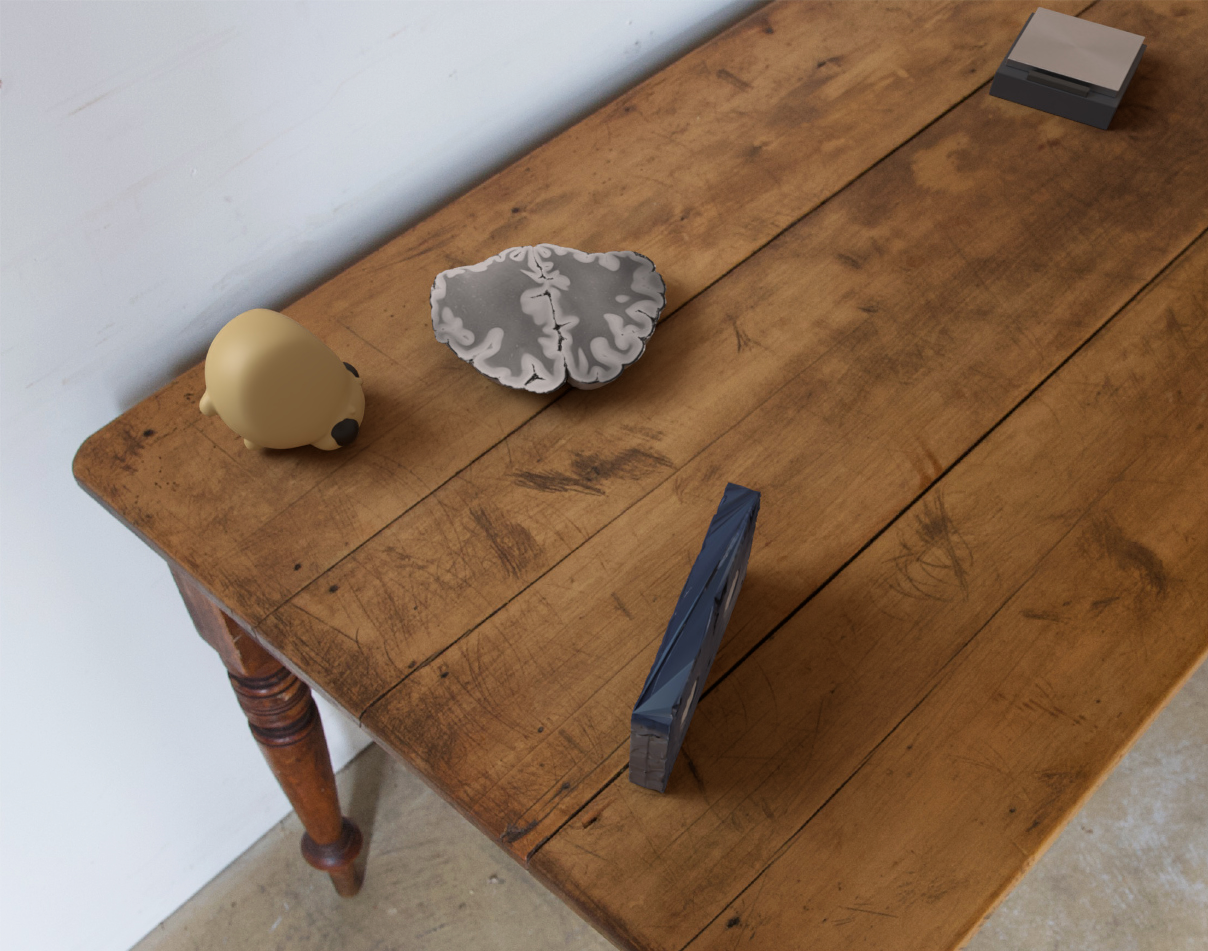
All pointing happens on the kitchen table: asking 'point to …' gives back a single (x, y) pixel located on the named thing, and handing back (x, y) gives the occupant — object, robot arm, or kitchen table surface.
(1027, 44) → the scale
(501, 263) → the brain slice
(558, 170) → the kitchen table surface
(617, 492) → the kitchen table surface
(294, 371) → the toy pig
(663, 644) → the vhs cassette tape
